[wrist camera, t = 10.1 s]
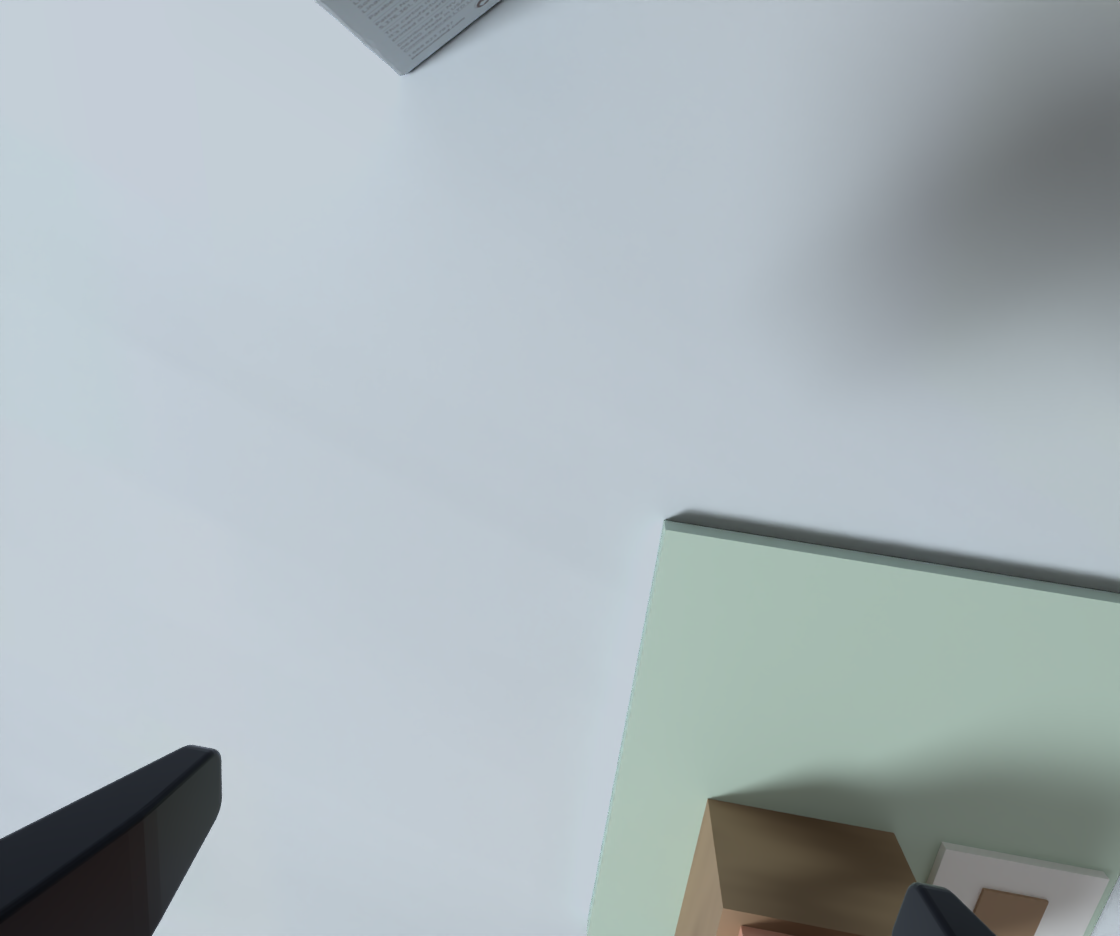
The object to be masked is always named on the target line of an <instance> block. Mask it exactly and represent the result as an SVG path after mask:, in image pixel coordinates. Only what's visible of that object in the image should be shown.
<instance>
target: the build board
mask: <svg viewBox="0 0 1120 936" xmlns="http://www.w3.org/2000/svg"><path fill="white" fill-rule="evenodd" d="M707 799H713V800H719V801H724V802H730V803H735V804H740V805H746V806H751V807H757V808H762V809H767V810H773V811H778V812H784V813H789V814H794V815H800V816H805V817H811V818H816V819H821V820H827V821H832V822H838V823H843V824H848V825H854V826H859V827H865V828H870V829H875V830H881V831H886V832H892V833H894V834H895V836H896V838H897V840H898V843H899V845H900V847H901V849H902V851H903V853H904V856H905V858H906V860H907V862H908V864H909V866H910V869H911V871H912V873H913V875H914V877H915V879H916V882H920V883H926V884H931V885H936V886H941V887H944V888H947V889H948V890H950V891H951V892H952V893H953V894H955V895H956V896H957V897H958V898H959V899H960V900H961V901H962V902H963V903H964V904H965V905H966V906H967V907H968V908H969V909H970V910H971V911H972V912H973V913H974V914H975V915H976V916H977V917H978V918H979V919H980V920H981V921H982V922H983V923H984V924H985V925H986V926H987V927H988V928H989V929H990V930H991V931H992V932H993V933H994V934H995V935H996V936H1090V935H1091V933H1092V931H1093V929H1094V927H1095V925H1096V923H1097V921H1098V919H1099V917H1100V914H1101V912H1102V910H1103V908H1104V906H1105V904H1106V902H1107V900H1108V898H1109V896H1110V894H1111V892H1112V890H1113V887H1114V885H1115V883H1116V881H1117V879H1118V877H1119V875H1120V594H1119V593H1113V592H1107V591H1100V590H1094V589H1088V588H1082V587H1076V586H1069V585H1063V584H1057V583H1051V582H1045V581H1038V580H1032V579H1026V578H1020V577H1014V576H1008V575H1001V574H995V573H989V572H983V571H977V570H970V569H964V568H958V567H952V566H946V565H939V564H933V563H927V562H921V561H915V560H908V559H902V558H896V557H890V556H884V555H877V554H871V553H865V552H859V551H853V550H846V549H840V548H834V547H828V546H822V545H816V544H809V543H803V542H797V541H791V540H785V539H778V538H772V537H766V536H760V535H754V534H747V533H741V532H735V531H729V530H723V529H716V528H710V527H704V526H698V525H692V524H685V523H679V522H673V521H667V520H664V524H663V529H662V535H661V540H660V545H659V550H658V556H657V561H656V566H655V571H654V577H653V582H652V587H651V592H650V597H649V603H648V608H647V613H646V618H645V624H644V629H643V634H642V639H641V644H640V650H639V655H638V660H637V665H636V671H635V676H634V681H633V686H632V691H631V697H630V702H629V707H628V712H627V718H626V723H625V728H624V733H623V739H622V744H621V749H620V754H619V759H618V765H617V770H616V775H615V780H614V786H613V791H612V796H611V801H610V806H609V812H608V817H607V822H606V827H605V833H604V838H603V843H602V848H601V853H600V859H599V864H598V869H597V874H596V880H595V885H594V890H593V895H592V901H591V906H590V911H589V916H588V925H587V936H674V935H675V931H676V927H677V923H678V919H679V914H680V910H681V906H682V902H683V898H684V894H685V890H686V886H687V881H688V877H689V873H690V869H691V865H692V861H693V857H694V853H695V848H696V844H697V840H698V836H699V832H700V828H701V824H702V820H703V816H704V811H705V807H706V803H707Z"/></svg>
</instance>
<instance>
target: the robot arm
mask: <svg viewBox="0 0 1120 936" xmlns="http://www.w3.org/2000/svg"><path fill="white" fill-rule="evenodd" d="M221 801H222V775H221V756H220V753H219V752H218V751H217V750H215V749H212V748H207V747H201V746H196V745H187V746H184V747H182V748H180V749H178V750H176V751H174V752H172V753H170V754H168V755H166V756H164V757H162V758H160V759H158V760H156V761H154V762H152V763H150V764H148V765H146V766H144V767H142V768H140V769H138V770H136V771H134V772H132V773H130V774H128V775H126V776H124V777H122V778H120V779H118V780H116V781H114V782H112V783H110V784H108V785H106V786H104V787H103V788H101V789H99V790H97V791H95V792H93V793H91V794H89V795H87V796H85V797H83V798H81V799H79V800H77V801H75V802H73V803H71V804H69V805H67V806H65V807H63V808H61V809H59V810H57V811H55V812H53V813H51V814H49V815H47V816H45V817H43V818H41V819H39V820H37V821H35V822H33V823H31V824H29V825H27V826H25V827H23V828H21V829H19V830H17V831H15V832H13V833H11V834H9V835H7V836H5V837H4V838H2V839H0V936H152V935H153V933H154V931H155V929H156V928H157V926H158V924H159V922H160V921H161V919H162V917H163V915H164V913H165V912H166V910H167V908H168V906H169V904H170V902H171V901H172V899H173V897H174V895H175V893H176V891H177V890H178V888H179V886H180V884H181V882H182V880H183V879H184V877H185V875H186V873H187V871H188V869H189V868H190V866H191V864H192V862H193V860H194V858H195V857H196V855H197V853H198V851H199V849H200V847H201V846H202V844H203V842H204V840H205V838H206V836H207V835H208V833H209V831H210V829H211V827H212V825H213V824H214V822H215V820H216V818H217V815H218V813H219V810H220V807H221ZM892 936H996V935H995V934H994V933H993V932H992V931H991V930H990V929H989V928H988V927H987V926H986V925H985V924H984V923H983V922H982V921H981V920H980V919H979V918H978V917H977V916H976V915H975V914H974V913H973V912H972V911H971V910H970V909H969V908H968V907H967V906H966V905H965V904H964V903H963V902H962V901H961V900H960V899H959V898H958V897H957V896H956V895H955V894H953V893H952V892H951V891H950V890H948V889H947V888H944V887H941V886H936V885H931V884H926V883H920V882H914V883H912V884H911V885H910V886H909V887H908V889H907V891H906V894H905V896H904V899H903V902H902V904H901V907H900V910H899V913H898V915H897V918H896V921H895V924H894V926H893V930H892Z"/></svg>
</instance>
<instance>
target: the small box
mask: <svg viewBox="0 0 1120 936" xmlns="http://www.w3.org/2000/svg"><path fill="white" fill-rule="evenodd" d="M314 1H315V2H316V3H317V4H319V5H320V6H321V7H322V8H323V9H324V10H326V11H327V12H328V13H329V14H330V15H331V16H333V17H334V18H335V19H336V20H337V21H338V22H340V23H341V24H342V25H343V26H344V27H345V28H346V29H347V30H349V31H350V32H351V33H352V34H353V35H354V36H355V37H356V38H358V39H359V40H360V41H361V42H362V43H363V44H364V45H365V46H366V47H367V48H369V49H370V50H371V51H372V52H373V53H374V54H376V55H377V56H378V57H379V58H380V59H381V60H383V61H384V62H385V63H386V64H388V65H389V66H390V67H391V68H392V69H393V70H394V71H395V72H396V73H397V74H398V75H400V76H401V75H405V74H407V73H408V72H410V71H411V70H412V69H413V68H415V67H416V66H417V65H418V64H420V63H421V62H422V61H423V60H425V59H426V58H428V57H429V56H430V55H431V54H433V53H434V52H435V51H436V50H438V49H439V48H440V47H441V46H443V45H444V44H445V43H446V42H448V41H449V40H450V39H452V38H453V37H455V36H456V35H457V34H458V33H460V32H461V31H462V30H463V29H464V28H466V27H467V26H468V25H469V24H471V23H472V22H473V21H475V20H476V19H477V18H479V17H480V16H481V15H482V14H484V13H485V12H486V11H487V10H489V9H490V8H491V7H492V6H494V5H495V4H496V3H497V2H499V1H500V0H314Z"/></svg>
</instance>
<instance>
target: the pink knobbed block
mask: <svg viewBox="0 0 1120 936" xmlns="http://www.w3.org/2000/svg"><path fill="white" fill-rule="evenodd" d="M738 936H793V935H788V934H783V933H778V932H773V931H768V930H762V929H757V928H752V927H747V926H742V925H741V927H740V931H739V934H738Z"/></svg>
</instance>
